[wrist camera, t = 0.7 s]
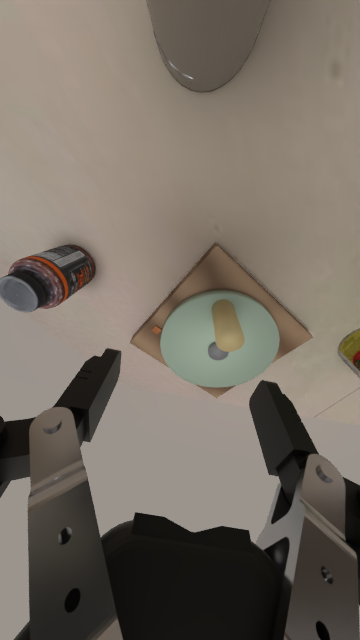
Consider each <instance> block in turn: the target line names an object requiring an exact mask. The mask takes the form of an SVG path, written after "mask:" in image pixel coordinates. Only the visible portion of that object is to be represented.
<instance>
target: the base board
mask: <svg viewBox="0 0 360 640" xmlns="http://www.w3.org/2000/svg"><path fill="white" fill-rule="evenodd" d="M211 290H232V291H237V292H241V293H243V294H246V295H248V296H250V297H252V298H254V299H256V300H257V301H258V302H260V303H261V304H262V305H263V306H264V307H265V308H266V309H267V311H268V312H269V313H270V315H271V316H272V318H273V320H274V321H275V323H276V325H277V328H278V331H279V338H280V340H279V348H278V352H277V354H276V356H275V358H274V360H273V361H272V363H273V362H274V361H276V360H277V359H279V358H281V357H282V356H284V355H285V354H287V353H289V352H290V351H292V350H293V349H295V348H297V347H298V346H300V345H301V344H303V343H305V342H306V341H308V340H309V339H311V338H313V337H312V335H311V334H310V333H309V332H308V331H307V330H306V329H305V328H304V327H303V326H302V325H301V324H300V323H299V322H298V321H297V320H296V319H295V318H294V317H293V316H292V315H291V314H290V313H289V312H288V311H287V310H286V309H284V308H283V307H282V306H281V305H280V304H279V303H278V302H277V301H276V300H275V299H274V298H273V297H272V296H271V295H270V294H269V293H268V292H267V291H266V290H265V289H264V288H263V287H262V286H260V285H259V284H258V283H257V282H256V281H255V280H254V279H253V278H252V277H251V276H250V275H249V274H248V273H247V272H246V271H245V270H244V269H243V268H242V267H241V266H240V265H239V264H237V263H236V262H235V261H234V260H233V259H232V258H231V257H230V256H229V255H228V254H227V253H226V252H225V251H224V250H223V249H222V248H221V247H220V246H219V245H218V244H217V243H215V244H214V245H213V246H212V247H211V248H210V249H209V251H208V252H207V253H206V254H205V255H204V256H203V257H202V258H201V260H200V261H199V262H198V263H197V264H196V265H195V266H194V268H193V269H192V270H191V271H190V272H189V273H188V274H187V275H186V277H185V278H184V279H183V280H182V281H181V282H180V283H179V285H178V286H177V287H176V288H175V289H174V290H173V291H172V292H171V294H170V295H169V296H168V297H167V298H166V299H165V300H164V301H163V303H162V304H161V305H160V306H159V307H158V308H157V309H156V311H155V312H154V313H153V314H152V315H151V316H150V317H149V318H148V320H147V321H146V322H145V323H144V324H143V325H142V326H141V328H140V329H139V330H138V331H137V332H136V333H135V334H134V335H133V337H132V339H131V341H130V343H131V344H133V345H134V346H136V347H137V348H139V349H141V350H142V351H144V352H145V353H147V354H148V355H150V356H152V357H153V358H155V359H156V360H158V361H159V362H161V363H163V364H164V365H166V366H167V367H168V365H167V364H166V362H165V360H164V358H163V356H162V353H161V347H160V340H161V334H162V331H163V327H164V324H165V321H166V319H167V317H168V316H169V314H170V313H171V312H172V310H173V309H174V308H175V307H176V306H177V305H178V304H180V303H181V302H182V301H184V300H185V299H187V298H189V297H191V296H193V295H196V294H198V293H202V292H205V291H211ZM197 386H199V387H200V388H202V389H203V390H205V391H207V392H208V393H210V394H211V395H213V396H214V397H216V398H217V397H218V396H220V395H222V394H223V393H225V392H226V391H228V390H229V389H231V388H233V387H234V386H229V387H205V386H200V385H197ZM235 386H236V385H235Z"/></svg>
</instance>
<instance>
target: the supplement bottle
mask: <svg viewBox="0 0 360 640" xmlns="http://www.w3.org/2000/svg"><path fill="white" fill-rule="evenodd" d="M94 273H95V268H94V264H93V261H92V259H91V258H90V256H89V255H88V254H87V253H86V252H85V251H84V250H82V249H81V248H79V247H77V246H74V245H64V246H60V247H57V248H54V249H50V250H47V251H44V252H41V253H38V254H35V255H32V256H28V257H26V258H23V259H20V260H18V261H16V262H15V263H13V264H12V266H11V267H10V270H9V273H8V275H6V276H4V277H2V278H1V279H0V297H1V298H2V299H3V301H4V302H5V303H6V304H7V305H9V306H10V307H12V308H14V309H15V310H18V311H21V312H32V311H34V310H36V309H37V308H44V309H48V308H53V307H55V306H57V305H59V304H60V303H62V302H63V301H65V300H66V299H67V298H69V297H70V296H71V295H73V294H74V293H75V292H77V291H78V290H79V289H81V288H82V287H84V286H85V285H86V284H88V283H89V282H90V281H91V280H92V278H93V276H94Z"/></svg>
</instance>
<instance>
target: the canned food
mask: <svg viewBox="0 0 360 640" xmlns="http://www.w3.org/2000/svg"><path fill="white" fill-rule="evenodd" d="M338 354H339V356H340V357H341V358H342V359H343V361H344V362H345V363H346V364H347V365H348V366H349V367H350V368H351V369H352V370H353V371H354V373H355V374H356V375H357V376H358V377H359V378H360V329H358V330H356V331H354V332H352V333H351V334H349V335H348V336H347V337H345V338H344V339H343V341H342V342H341V343H340V345H339V348H338Z"/></svg>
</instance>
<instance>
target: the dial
mask: <svg viewBox="0 0 360 640" xmlns="http://www.w3.org/2000/svg"><path fill="white" fill-rule="evenodd" d="M279 340H280V338H279V331H278V328H277V325H276V323H275V321H274V320H273V318H272V316H271V315H270V313H269V312H268V311H267V309H266V308H265V307H264V306H263V305H262V304H261V303H260V302H258V301H257V300H256V299H254V298H252V297H250V296H248V295H246V294H243V293H241V292H237V291H232V290H211V291H205V292H202V293H198V294H196V295H193V296H191V297H189V298H187V299H185V300H184V301H182V302H181V303H180V304H178V305H177V306H176V307H175V308H174V309H173V310H172V312H171V313H170V314H169V316H168V317H167V319H166V321H165V324H164V327H163V331H162V334H161V340H160V347H161V353H162V356H163V358H164V360H165V362H166V364H167V365H168V367H169V368H170V369H171V370H172V371H173V372H174V373H175V374H177V375H178V376H179V377H181V378H182V379H184V380H186V381H188V382H191V383H193V384H196V385H200V386H205V387H229V386H235V385H239V384H242V383H245V382H247V381H249V380H251V379H253V378H255V377H257V376H258V375H260V374H261V373H262V372H263V371H264V370H266V369H267V368H268V367H269V365H270V364H271V363H272V361H273V360H274V358H275V356H276V354H277V352H278V348H279Z"/></svg>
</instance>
